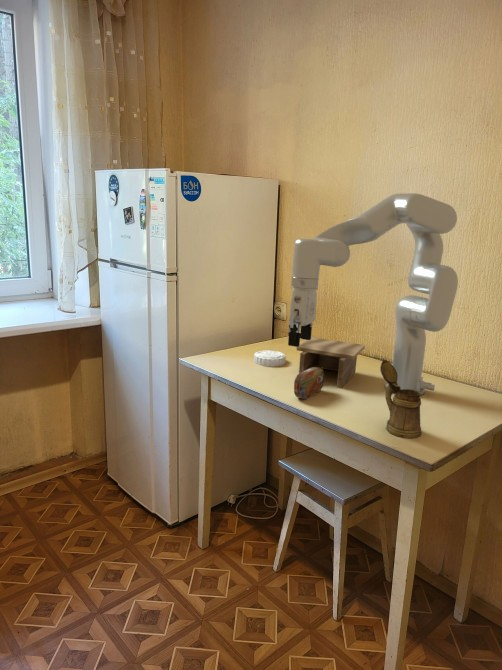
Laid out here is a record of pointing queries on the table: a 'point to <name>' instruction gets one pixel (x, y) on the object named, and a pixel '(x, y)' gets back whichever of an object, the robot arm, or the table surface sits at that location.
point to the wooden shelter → (330, 357)
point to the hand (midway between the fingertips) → (299, 342)
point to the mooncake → (269, 358)
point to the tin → (308, 382)
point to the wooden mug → (401, 405)
